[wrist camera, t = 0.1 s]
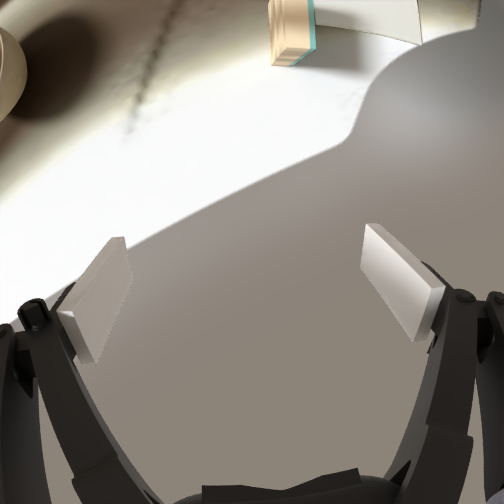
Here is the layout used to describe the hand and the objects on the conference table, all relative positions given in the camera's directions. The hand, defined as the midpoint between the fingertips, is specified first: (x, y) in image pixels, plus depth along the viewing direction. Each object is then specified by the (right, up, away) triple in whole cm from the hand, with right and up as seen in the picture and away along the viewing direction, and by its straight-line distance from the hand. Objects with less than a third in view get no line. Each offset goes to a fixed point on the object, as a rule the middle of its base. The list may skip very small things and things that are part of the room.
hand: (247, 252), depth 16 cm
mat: (+18, +40, +13) cm, 45 cm away
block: (+4, +30, +17) cm, 34 cm away
